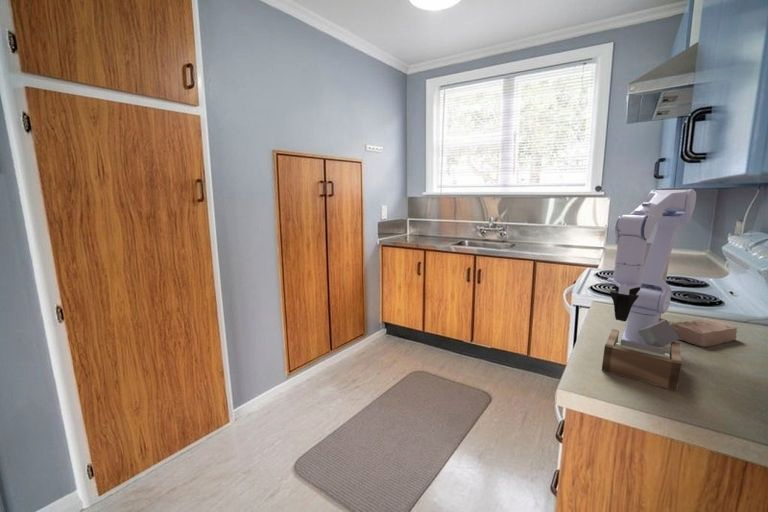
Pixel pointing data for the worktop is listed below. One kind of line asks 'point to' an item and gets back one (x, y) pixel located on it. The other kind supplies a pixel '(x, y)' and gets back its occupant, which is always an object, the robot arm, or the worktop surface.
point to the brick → (705, 332)
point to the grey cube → (658, 334)
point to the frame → (642, 364)
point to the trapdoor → (643, 348)
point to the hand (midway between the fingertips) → (622, 316)
